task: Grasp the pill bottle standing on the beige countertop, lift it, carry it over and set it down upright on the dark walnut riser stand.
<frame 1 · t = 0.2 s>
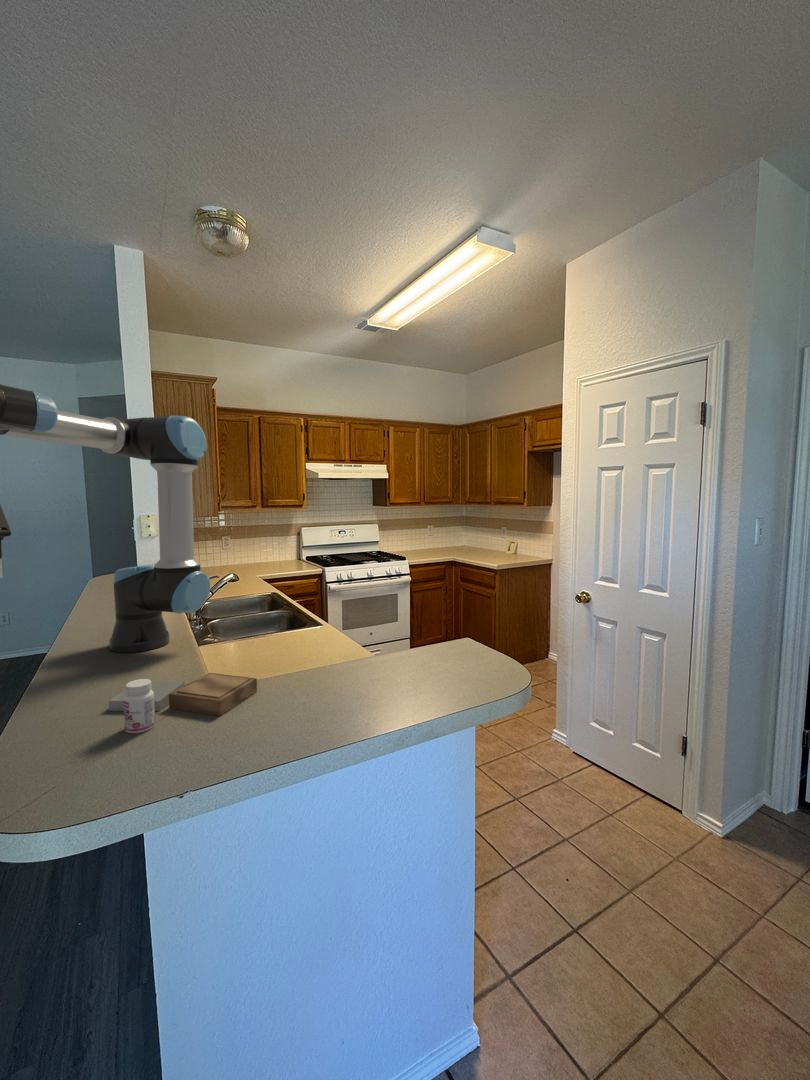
walnut stand: (215, 699, 95), on the countertop
pill bottle: (140, 728, 83), on the countertop
slate tile: (148, 700, 94), on the countertop
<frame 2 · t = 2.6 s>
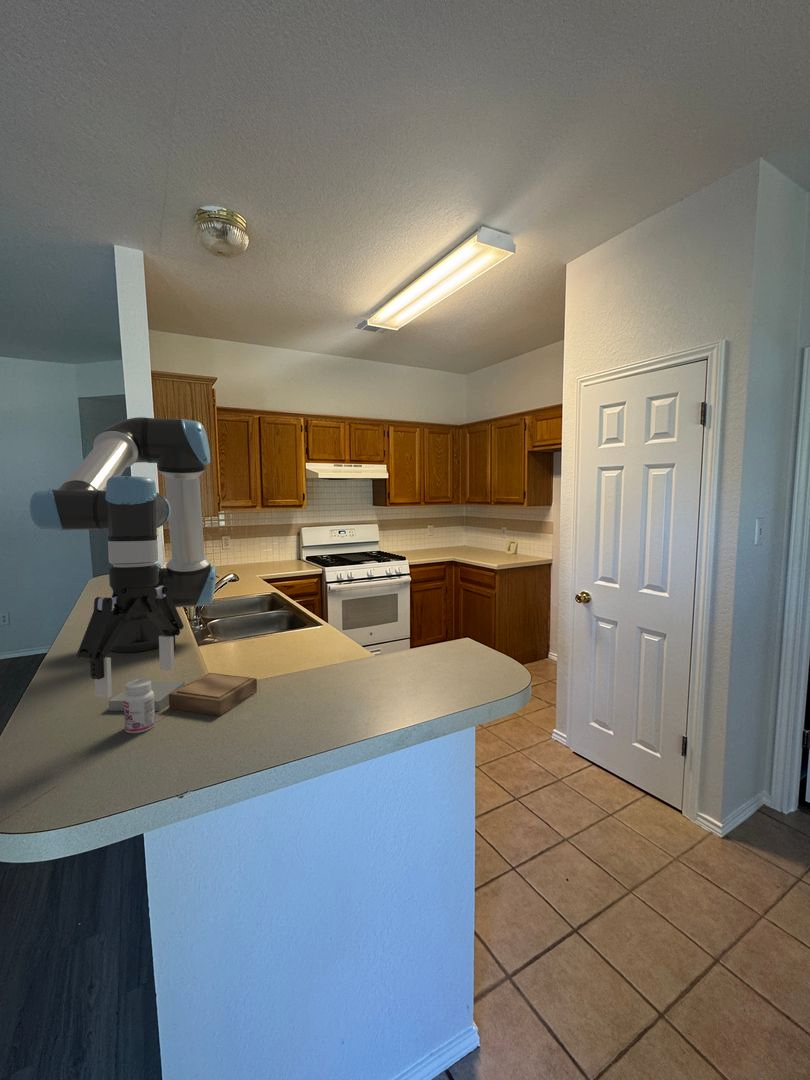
hand: (137, 681, 82), 9 cm above the countertop, fingers open, 13 cm apart
nothing on the countertop moved.
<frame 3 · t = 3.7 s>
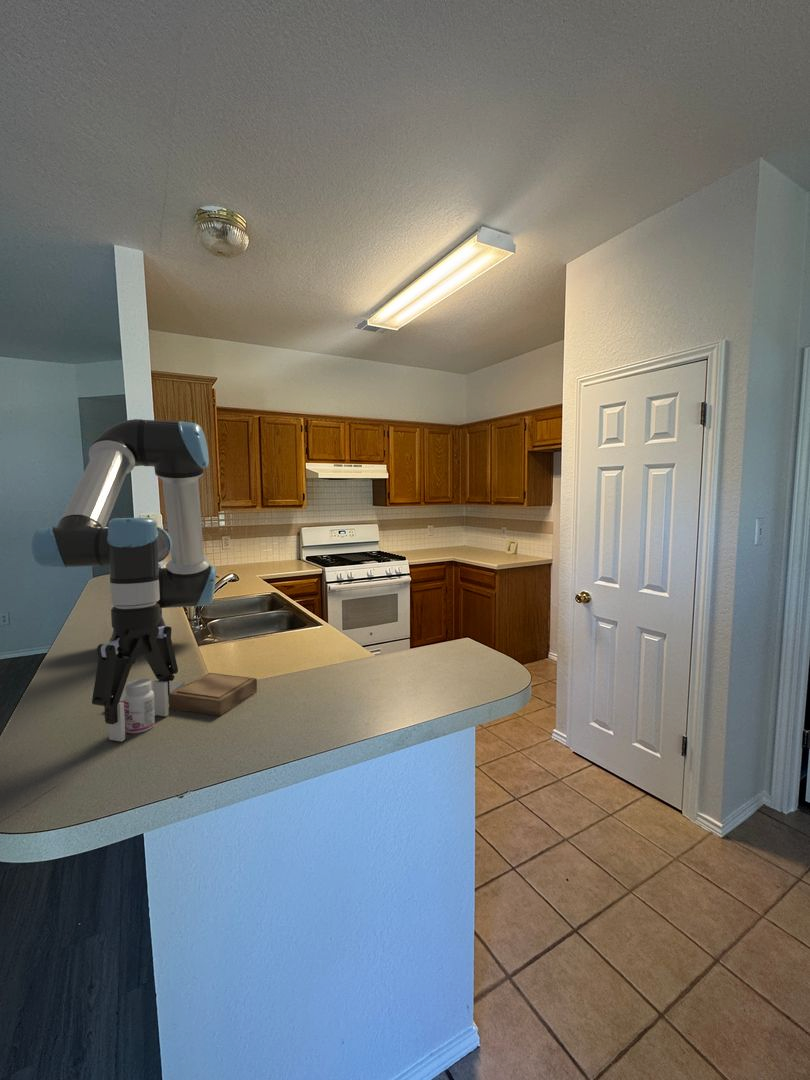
hand: (140, 726, 83), 0 cm above the countertop, fingers open, 9 cm apart
nothing on the countertop moved.
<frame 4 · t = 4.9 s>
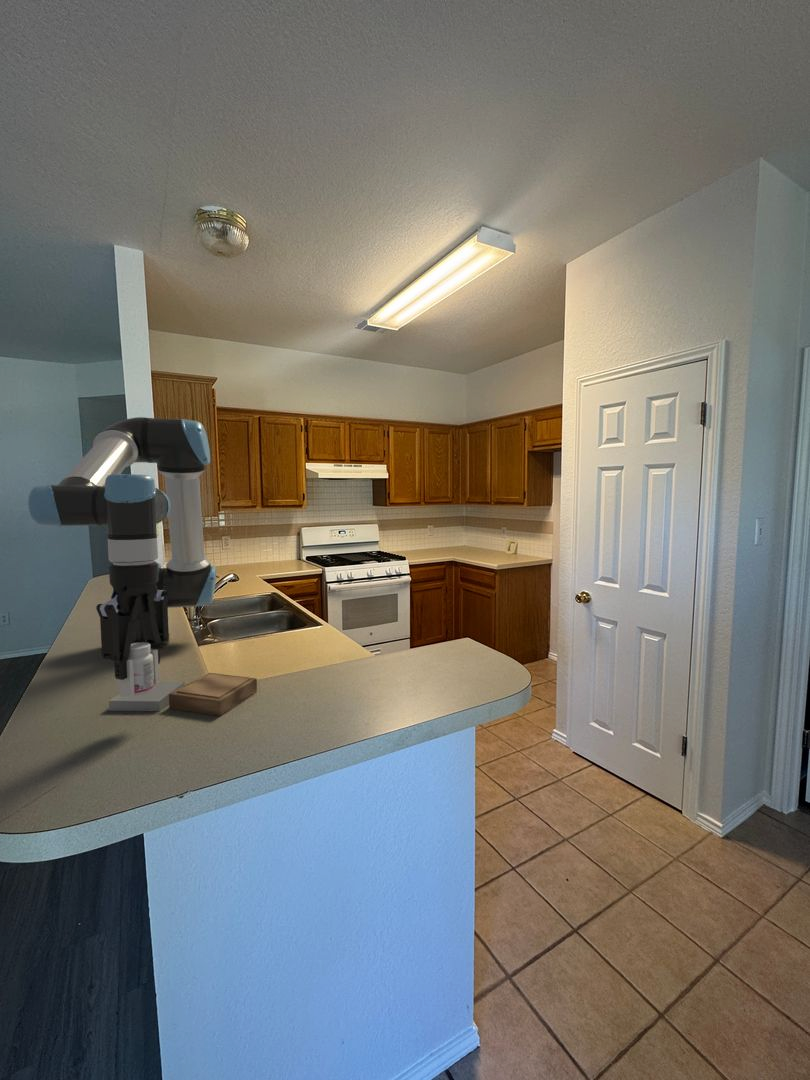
hand: (139, 688, 83), 7 cm above the countertop, fingers closed on pill bottle, 5 cm apart
pill bottle: (139, 691, 83), point 7 cm above the countertop, touching gripper
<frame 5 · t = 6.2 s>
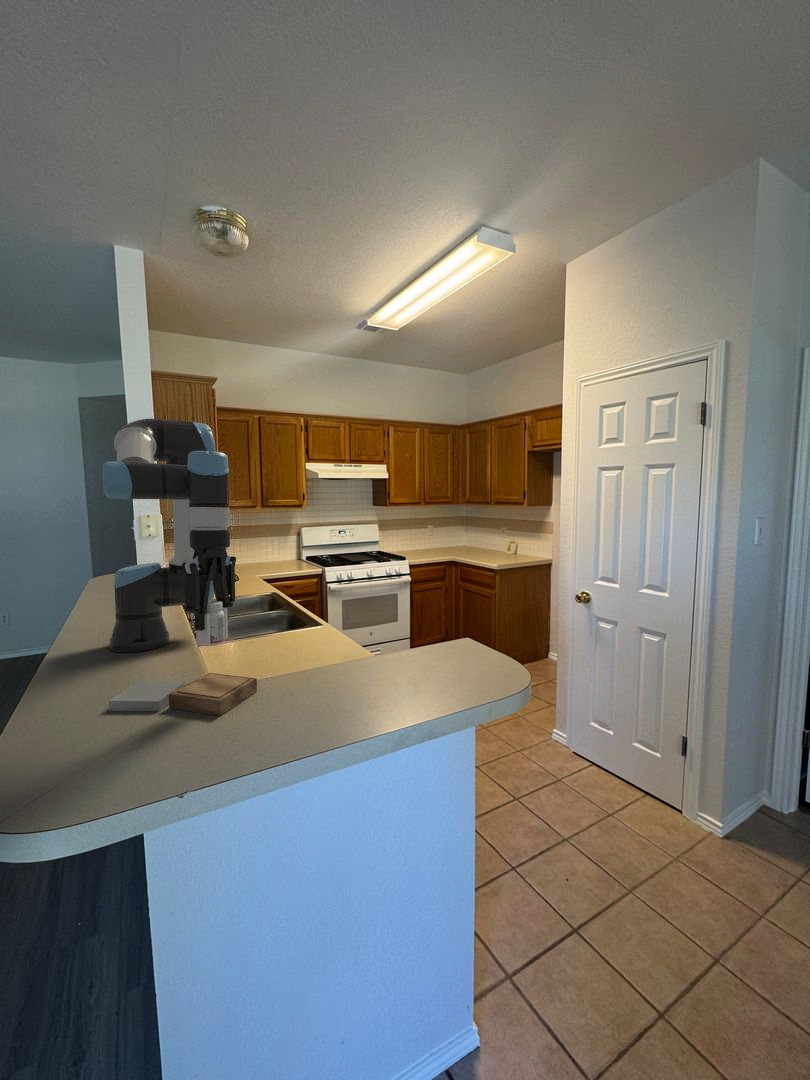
hand: (212, 641, 94), 13 cm above the countertop, fingers closed on pill bottle, 5 cm apart
pill bottle: (212, 643, 94), point 12 cm above the countertop, touching gripper
when the fingers open (4 cm above the countertop, at t = 8.0 s): pill bottle stays where it is, resting on walnut stand.
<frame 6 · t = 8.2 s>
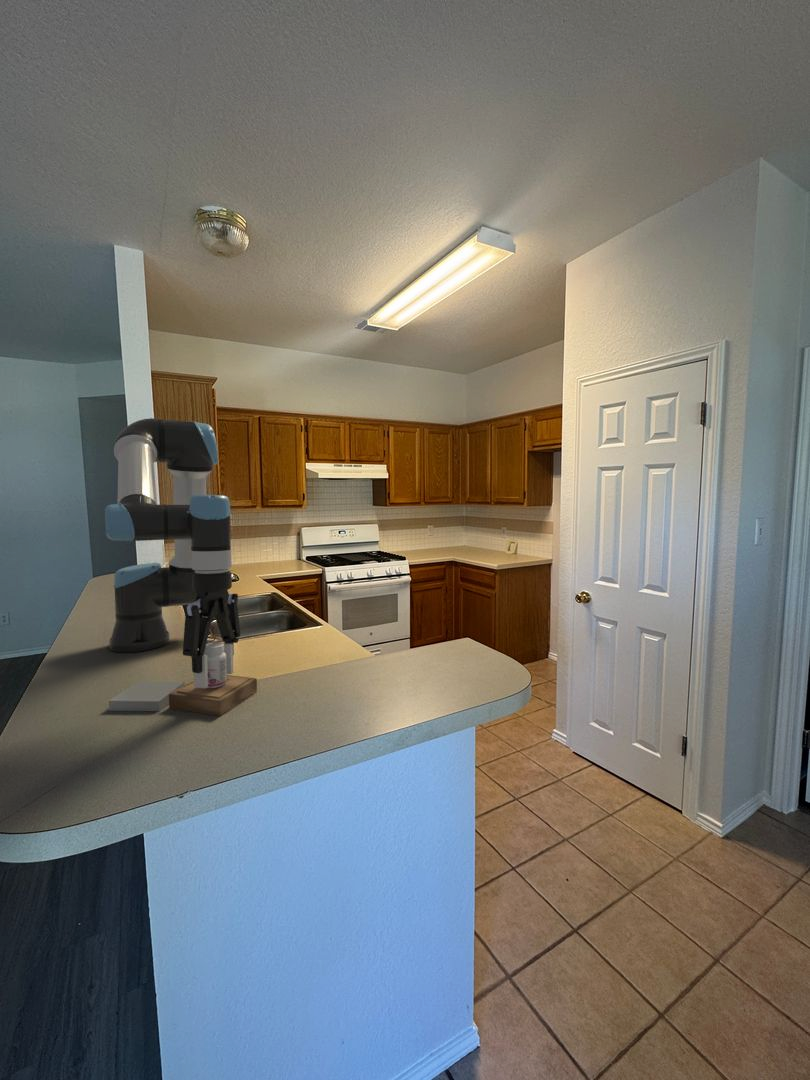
hand: (214, 679, 94), 4 cm above the countertop, fingers open, 7 cm apart
pill bottle: (214, 685, 95), point 3 cm above the countertop, touching walnut stand
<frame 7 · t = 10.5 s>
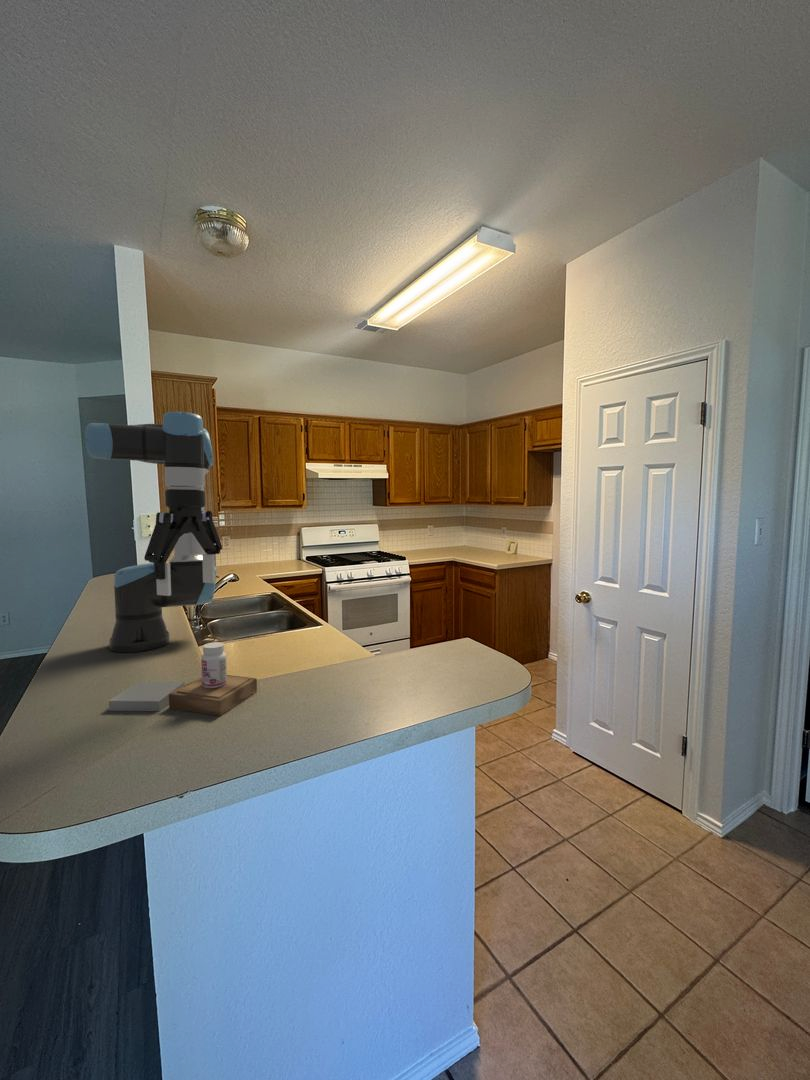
hand: (188, 588, 97), 23 cm above the countertop, fingers open, 13 cm apart
nothing on the countertop moved.
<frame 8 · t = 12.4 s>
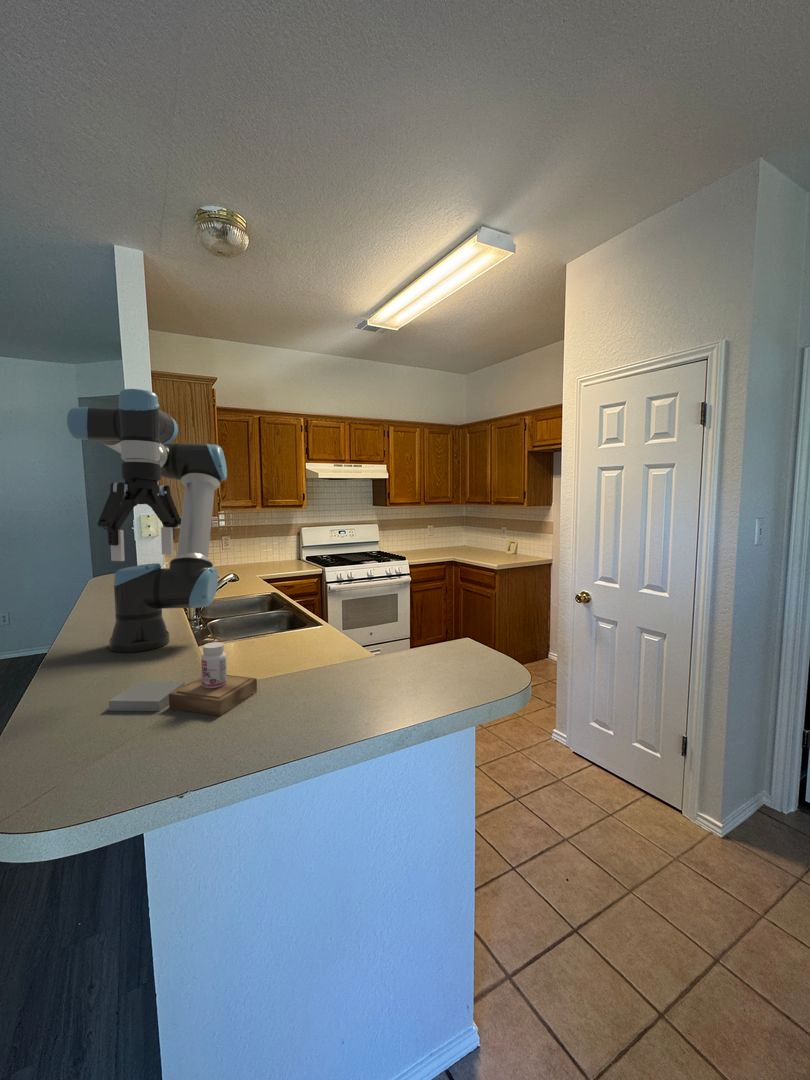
hand: (144, 557, 102), 29 cm above the countertop, fingers open, 13 cm apart
nothing on the countertop moved.
at the end: pill bottle inside the target area on the walnut stand (0.1 cm from its centre), point 3.1 cm above the walnut stand's base; pill bottle tilted 0°; the gripper is holding nothing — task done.
